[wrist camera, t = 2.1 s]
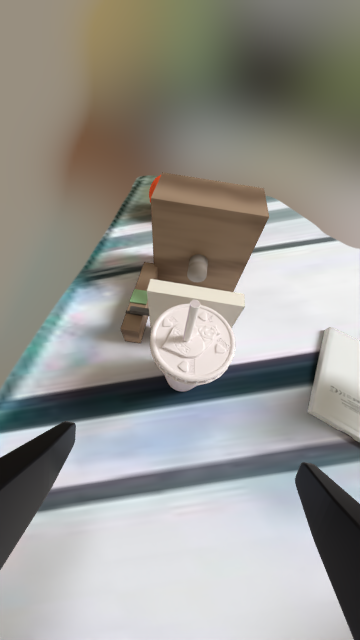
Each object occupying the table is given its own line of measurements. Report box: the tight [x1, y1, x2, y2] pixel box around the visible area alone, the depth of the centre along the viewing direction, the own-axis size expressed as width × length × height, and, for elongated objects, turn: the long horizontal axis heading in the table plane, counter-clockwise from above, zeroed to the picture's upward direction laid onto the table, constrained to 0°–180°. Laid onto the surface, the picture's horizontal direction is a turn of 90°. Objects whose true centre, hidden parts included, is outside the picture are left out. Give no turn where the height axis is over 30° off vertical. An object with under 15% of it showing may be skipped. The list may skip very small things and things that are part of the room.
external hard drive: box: [307, 327, 360, 443], centre depth 23 cm, size 2×8×12 cm
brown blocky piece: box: [121, 173, 269, 343], centre depth 23 cm, size 16×14×12 cm
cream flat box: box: [129, 279, 245, 328], centre depth 21 cm, size 2×11×7 cm, turn 81°
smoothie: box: [150, 300, 235, 392], centre depth 16 cm, size 6×6×14 cm
